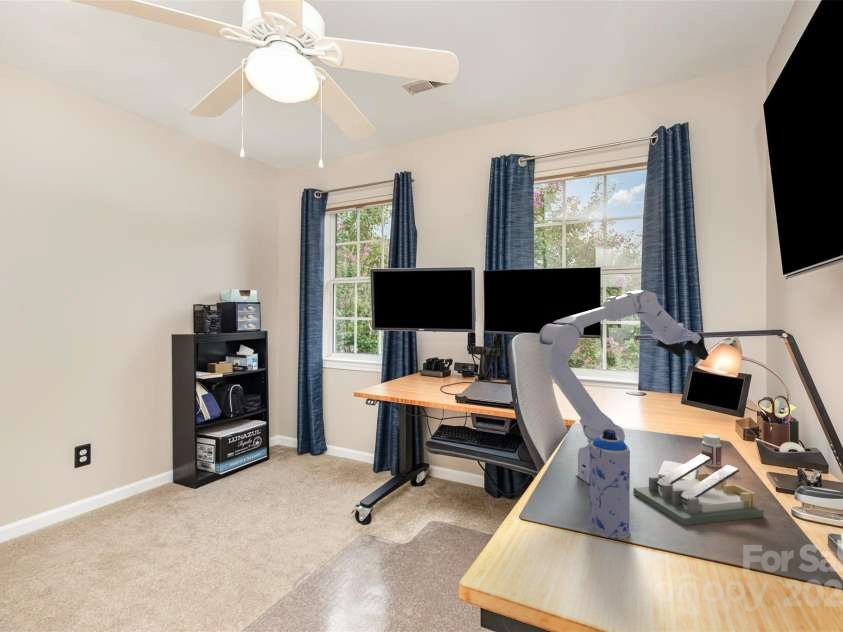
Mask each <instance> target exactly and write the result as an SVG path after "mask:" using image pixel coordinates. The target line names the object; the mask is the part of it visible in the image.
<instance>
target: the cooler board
mask: <svg viewBox="0 0 843 632" xmlns="http://www.w3.org/2000/svg"><path fill="white" fill-rule="evenodd" d="M712 474H713V473H711V472H708V471H706V472H697V474H696V479H693V480H682V481H677V482H675V483H673V484H672V485H671V484H662V487H660V486H658V485H657V484H656V481H658V480H660V478H659V477H658V476H649V477H648V486H640V487H639V486H638V487H633V491H632V492H633V493H632V494H633V495H634V494H635V495H634V496H636V497H637V496H638V497H637V498H639V497H640V498H641V500H642V499H643V500H642V501H644V502H645V501H646V503H647V502H648V503H649V505H650V504H651V505H650V506H651V507H654V508H655V509H656V508H657V509H656V510H658V511H660V512H661V513H663V514H664V513H665V515H666V516H668V517H669V516H670V518H671V519H672V518H673V520H674V521H675V522H677V523H679V524H680V525H682V526H684V527H685V526H686V525H687V526H694V525H693V524H696V525H701V524H700V523H705V524H711V523H710V522H713V523H721V522H720V521H722V522H730V521H731V522H732V521H737V520H748V519H755V518H764V515H765V514H764V513H765V512H764V509H763V508H761V507H758V506H757V505H756V502H757V501H756V500H757V497H756V496H757V493H756V492H754V491H752V490H750V489H747V488H745V487H742V486H740V485H737V484H735V483H731V484H727V479H726V480H725V481H723V482H722V483H720V484H719V485H717V486H715V487H714V488H712V489H711V490H709V491H708V492H706V493H704V494H703V495H701V496H700V497H698V498H696V497H692V498H688V501H686V500H684V499H682V498H680V496H679V495H680V494H682V493H683V492H685V491H686V490H688V489H689V488H691V487H693V486H694V485H696V484H697V483H699V482H701V481H702V480H704V479H705V478H707V477H709V476H710V475H712ZM640 498H639V499H640ZM648 503H647V504H648Z"/></svg>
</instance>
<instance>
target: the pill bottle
mask: <svg viewBox="0 0 843 632" xmlns="http://www.w3.org/2000/svg"><path fill="white" fill-rule="evenodd" d="M702 439H703V440H702V441H701V454H702V455H705V456H707V457H710V458H711V460H710V461H709V462H707V463H706V464H704V465H703V466H708V467H711V468H720V467H721V468H722V444H721V437H720V435H716V434H713V433H703V435H702Z"/></svg>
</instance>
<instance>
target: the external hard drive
mask: <svg viewBox="0 0 843 632" xmlns="http://www.w3.org/2000/svg"><path fill="white" fill-rule="evenodd" d="M661 464H662V465H661V467H660V469H659V471H658V474H657V477H658V478H659V477H662V478H663V477H664V476H666V475H668V474H669V473H671V472H673V471H674V470H676V469H677V468H679V467H681V466H682V465H684V464H685V463H680V462H675V461H670V460H664V461H663V462H662V463H661ZM697 473H698V468H697V469H696V470H694V471H693V472H691V473H689V474H688V475H686V476H685V477H683V478H681V479H680V480H678V481H682V480H693V479H697Z"/></svg>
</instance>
